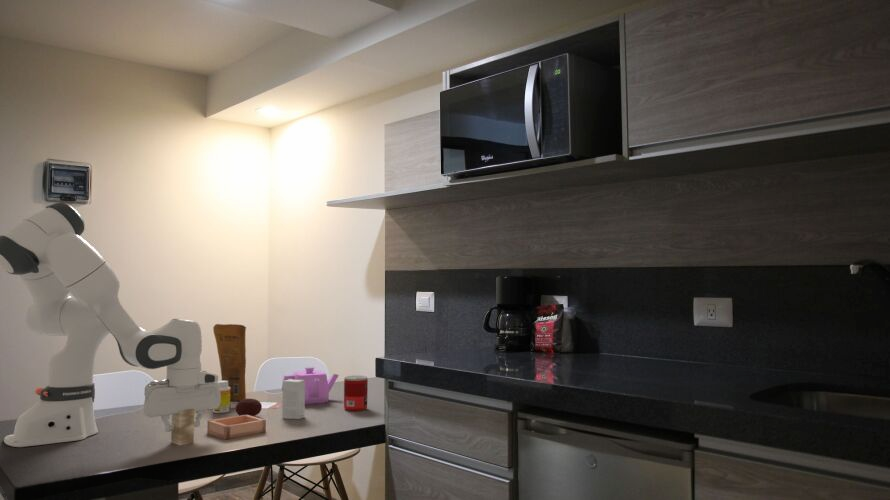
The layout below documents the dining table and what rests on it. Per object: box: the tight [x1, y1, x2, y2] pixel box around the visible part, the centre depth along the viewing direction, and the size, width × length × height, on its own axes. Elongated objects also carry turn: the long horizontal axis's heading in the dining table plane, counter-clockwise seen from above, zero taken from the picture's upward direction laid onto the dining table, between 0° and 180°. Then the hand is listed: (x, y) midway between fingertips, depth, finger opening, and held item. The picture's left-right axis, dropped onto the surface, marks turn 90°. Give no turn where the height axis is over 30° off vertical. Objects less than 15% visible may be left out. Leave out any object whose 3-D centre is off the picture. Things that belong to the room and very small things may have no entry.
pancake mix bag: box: [212, 323, 247, 402], centre depth 242 cm, size 7×19×28 cm, turn 48°
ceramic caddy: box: [206, 415, 267, 440], centre depth 188 cm, size 12×11×4 cm
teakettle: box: [281, 366, 339, 405], centre depth 239 cm, size 17×17×12 cm
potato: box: [235, 398, 263, 417], centre depth 209 cm, size 7×8×6 cm
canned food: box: [343, 375, 369, 412], centre depth 223 cm, size 8×8×11 cm
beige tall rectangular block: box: [170, 409, 195, 446], centre depth 177 cm, size 4×5×9 cm
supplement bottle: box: [212, 380, 231, 414], centre depth 218 cm, size 6×6×10 cm
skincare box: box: [281, 379, 306, 420], centre depth 209 cm, size 6×4×12 cm
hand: (182, 428), depth 177 cm, fingers open, 6 cm apart
